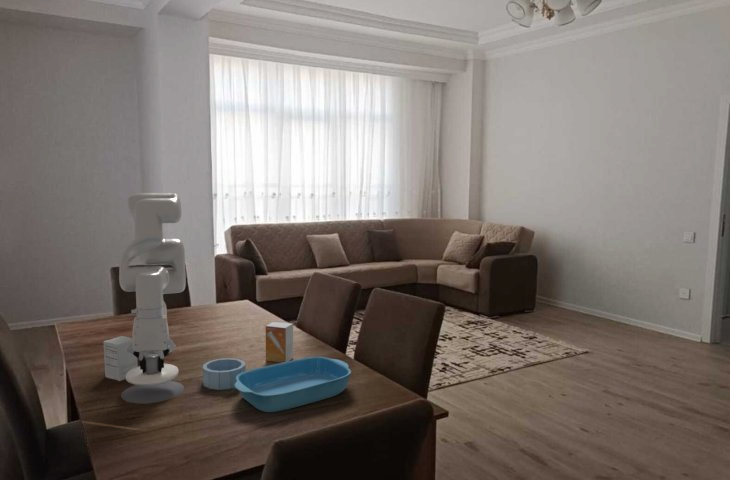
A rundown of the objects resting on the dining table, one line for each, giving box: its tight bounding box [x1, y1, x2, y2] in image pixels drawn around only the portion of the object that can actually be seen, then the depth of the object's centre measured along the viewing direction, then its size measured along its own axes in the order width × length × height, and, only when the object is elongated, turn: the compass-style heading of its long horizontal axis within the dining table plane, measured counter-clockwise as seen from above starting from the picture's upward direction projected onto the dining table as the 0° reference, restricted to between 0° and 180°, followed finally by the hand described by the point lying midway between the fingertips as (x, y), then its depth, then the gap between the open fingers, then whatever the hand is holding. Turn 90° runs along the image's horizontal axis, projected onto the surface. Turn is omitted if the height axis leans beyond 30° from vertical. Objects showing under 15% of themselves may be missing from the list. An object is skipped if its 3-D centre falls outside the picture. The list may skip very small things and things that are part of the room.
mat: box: [120, 380, 185, 404], centre depth 171 cm, size 18×18×1 cm
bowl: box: [202, 357, 246, 391], centre depth 179 cm, size 13×13×6 cm
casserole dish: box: [234, 356, 352, 413], centre depth 170 cm, size 37×22×7 cm, turn 126°
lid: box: [125, 354, 179, 385], centre depth 171 cm, size 15×15×6 cm
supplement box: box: [103, 335, 139, 382], centre depth 183 cm, size 7×7×13 cm
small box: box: [265, 321, 294, 363], centre depth 202 cm, size 8×6×13 cm
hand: (152, 370), depth 171 cm, fingers closed on lid, 4 cm apart
